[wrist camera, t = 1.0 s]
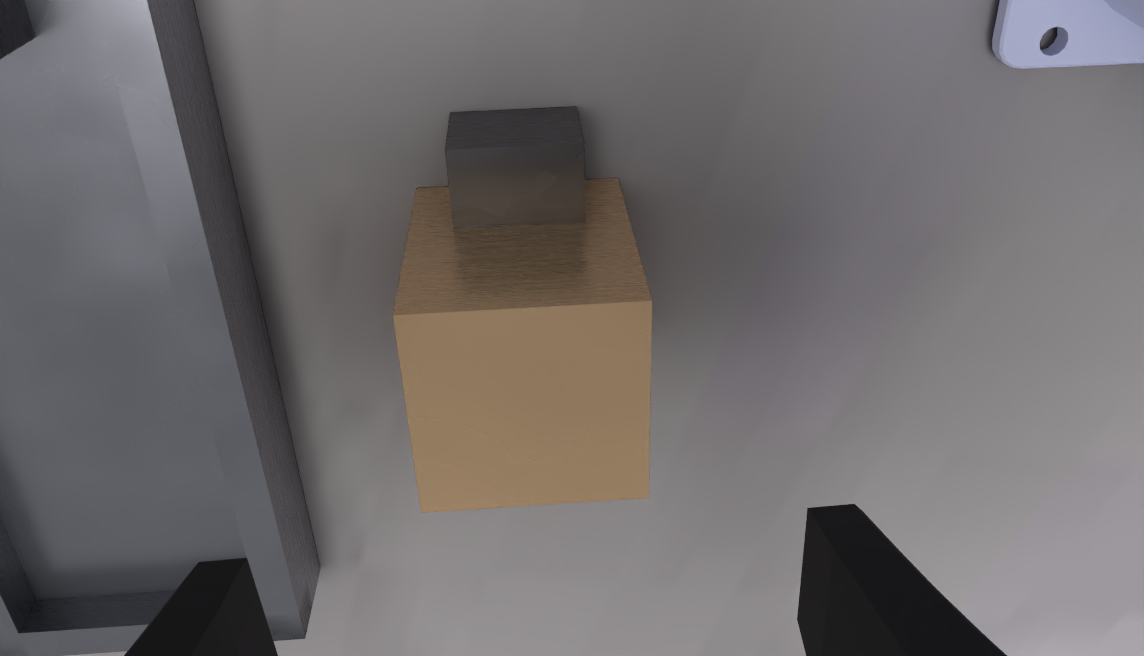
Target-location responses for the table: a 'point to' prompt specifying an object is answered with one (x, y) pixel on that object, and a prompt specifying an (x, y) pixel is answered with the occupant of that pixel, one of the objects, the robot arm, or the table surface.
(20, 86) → the tray
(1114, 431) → the table surface
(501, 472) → the wooden block with cap
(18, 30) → the steel block
